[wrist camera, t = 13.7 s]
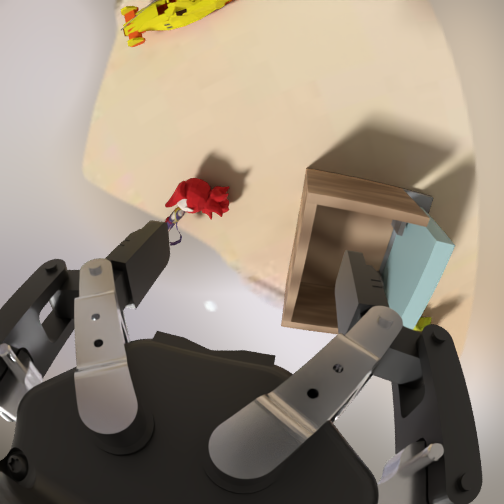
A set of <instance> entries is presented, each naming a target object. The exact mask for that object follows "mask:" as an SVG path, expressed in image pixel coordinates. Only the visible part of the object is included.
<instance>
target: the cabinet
mask: <svg viewBox="0 0 504 504" xmlns="http://www.w3.org/2000/svg"><path fill="white" fill-rule="evenodd" d="M432 201H433V197H432V196H429V195H425V194H422V193H418V192H414V191H411V190H407V189H403V188H399V187H395V186H391V185H387V184H383V183H378V182H374V181H370V180H365V179H360V178H356V177H351V176H346V175H341V174H336V173H331V172H325V171H320V170H314V169H308V168H306V174H305V181H304V187H303V193H302V199H301V205H300V211H299V216H298V222H297V228H296V233H295V239H294V244H293V250H292V255H291V260H290V266H289V271H288V276H287V281H286V290H285V298H284V307H283V315H282V323H281V326H283V327H290V328H296V329H303V330H309V331H317V332H325V333H332V334H338V322H337V310H336V300H335V284H336V279H337V276H338V273H339V269H340V266H341V262H342V259H343V255H344V252H345V251H346V250H350V251H356V252H362V253H363V256H364V259H365V262H366V265H372V266H373V267H374V268H375V270H376V271H377V272H378V273H379V276H380V279H381V282H382V285H383V286H384V282H383V280H382V277H381V276H382V273H383V271H384V268H385V265H386V263H387V260H388V257H389V255H390V252H391V249H392V246H393V243H394V241H395V238H396V235H400V236H402V235H403V232H404V229H405V226H406V223H411V224H415V225H420V226H424V227H427V225H428V222H429V219H430V218H429V217H428V215H427V214H426V213H425V212H424V211H423V210H422V209H421V208H420V207H422V208H423V209H424V210H425V211H426V212H427V213H429V210H430V207H431V204H432Z"/></svg>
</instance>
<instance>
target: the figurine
mask: <svg viewBox="0 0 504 504" xmlns="http://www.w3.org/2000/svg"><path fill="white" fill-rule="evenodd" d="M228 189H229V186H228V187H219V186H216V187H214V188H213V189H212V190H211V188H210V186H209V184H208V183H207V182H205V181H204V180H202V179H197V178H190V179H188V180H187V181H182V182H181V183H179V185H178V186H177V188H176V190H175V192H174V194H173V195H172V197H171V198H170V199H169V201H168V202H167V203H166V204H165V207H172V206H174V205H176V204H178V206H179V207H177V208H176V209H175V210H174V211H173V213H172V214H171V215H170V216H169V217H167V219H166V221H165V222H166V223H167V225H168V232H169V231H170V229H171V228H172V227H173V226H174V225H175V224H176V228H177V222H178V221H179V220H180V218H181V217H182V216H183V215H184V213H185V212H188V213H196V212H199V211H201V210H202V213H205V214H207V215H208V216H209V217H210V219H212V212H215V213H217V214H218V215H220V216H221V217H222V214H223V213H225V212H227V211H228V210H229V208H228V206H229V200H228V199H226V198H227V196H228V195H229V193H227V194H225V193H226V192H227V191H228ZM177 230H178V228H177ZM181 238H182V236H181V235H180V240H178V241H176V242H170V243H171V244H170V245H176V244H178V243H180V242H181Z"/></svg>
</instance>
